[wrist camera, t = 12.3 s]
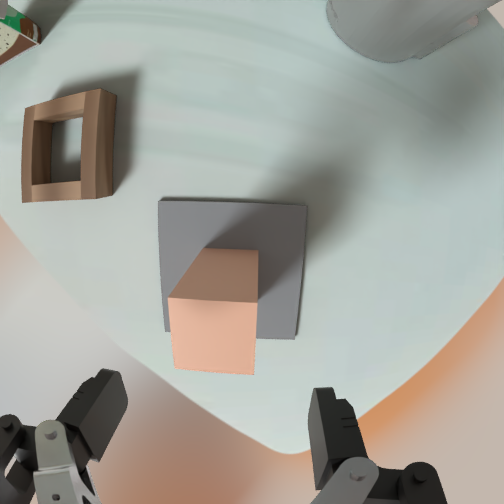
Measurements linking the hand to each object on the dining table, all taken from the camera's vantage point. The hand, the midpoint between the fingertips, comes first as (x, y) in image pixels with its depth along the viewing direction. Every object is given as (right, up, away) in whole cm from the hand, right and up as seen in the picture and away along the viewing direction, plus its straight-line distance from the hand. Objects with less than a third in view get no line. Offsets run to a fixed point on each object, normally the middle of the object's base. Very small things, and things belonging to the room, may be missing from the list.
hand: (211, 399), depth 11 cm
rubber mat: (0, +4, +14) cm, 15 cm away
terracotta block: (0, +4, +14) cm, 14 cm away
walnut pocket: (-15, +15, +12) cm, 24 cm away
